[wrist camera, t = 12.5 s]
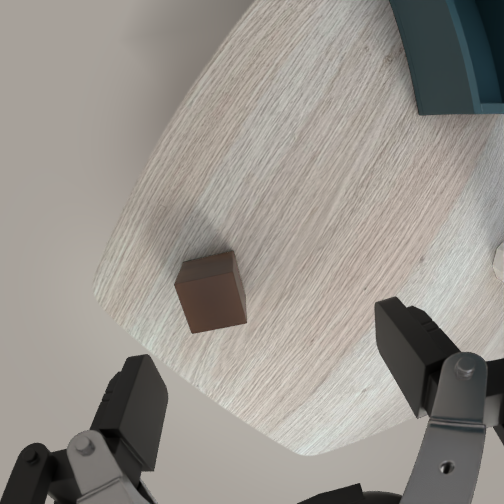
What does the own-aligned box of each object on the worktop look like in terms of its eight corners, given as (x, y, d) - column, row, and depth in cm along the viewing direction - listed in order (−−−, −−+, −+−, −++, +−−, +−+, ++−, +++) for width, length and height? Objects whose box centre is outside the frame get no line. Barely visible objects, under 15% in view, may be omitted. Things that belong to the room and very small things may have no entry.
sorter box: (502, 112, 23) (556, 115, 16) (418, 115, 23) (474, 114, 16) (468, -15, 18) (513, -35, 11) (377, -30, 18) (415, -67, 11)
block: (197, 306, 29) (191, 334, 24) (182, 261, 27) (173, 284, 23) (245, 296, 28) (247, 323, 24) (233, 250, 27) (233, 271, 23)
